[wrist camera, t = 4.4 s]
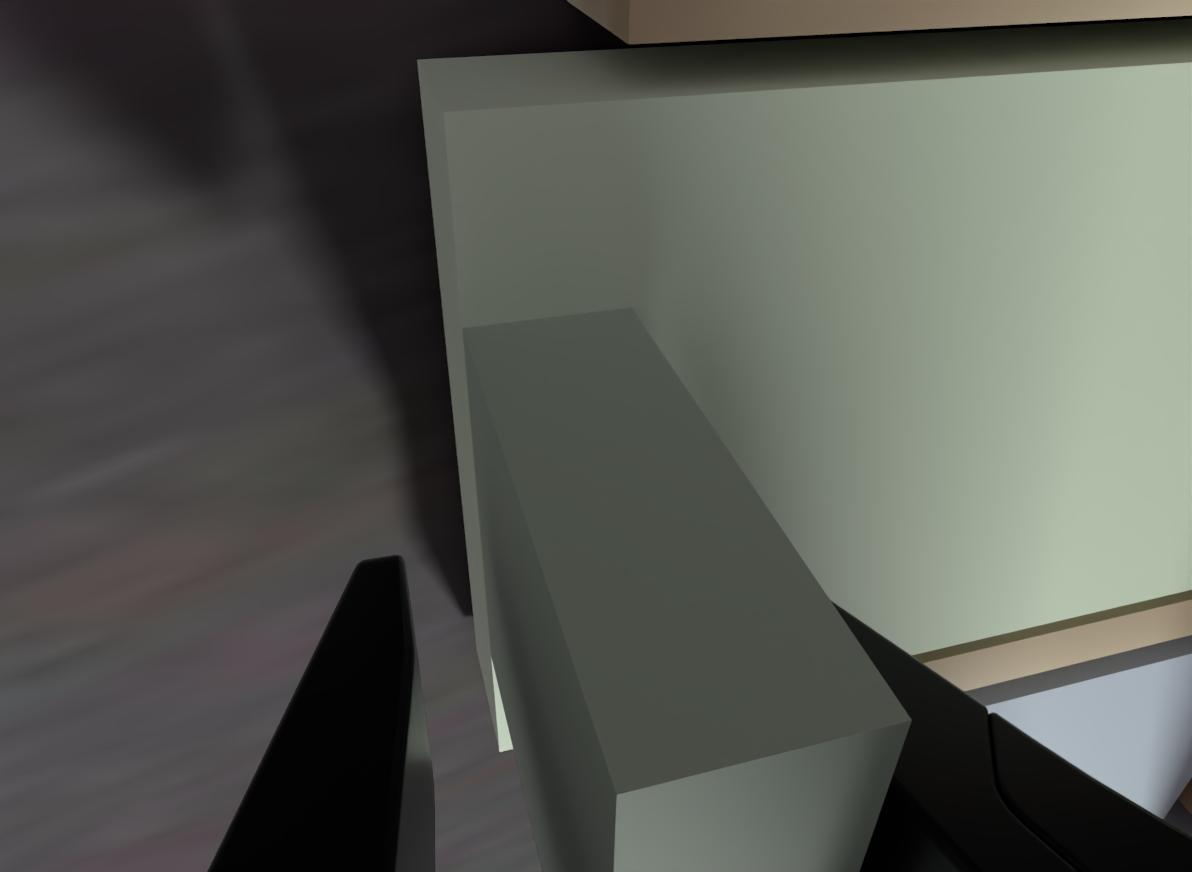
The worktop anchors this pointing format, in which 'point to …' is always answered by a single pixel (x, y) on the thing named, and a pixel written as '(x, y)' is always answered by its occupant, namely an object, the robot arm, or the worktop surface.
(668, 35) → the board
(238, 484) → the worktop surface
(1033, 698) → the blue-grey tray
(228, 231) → the worktop surface
